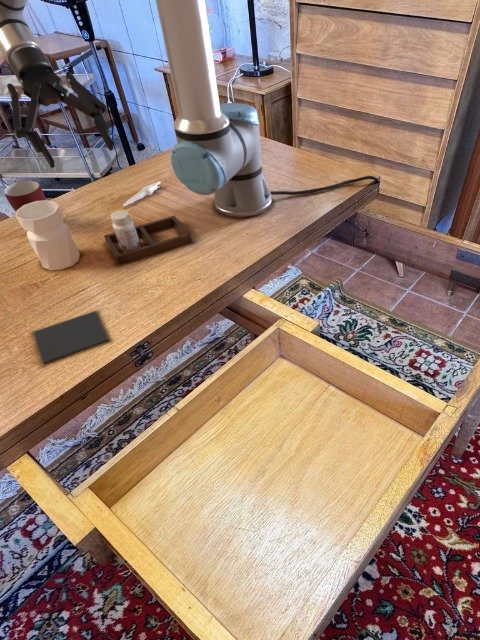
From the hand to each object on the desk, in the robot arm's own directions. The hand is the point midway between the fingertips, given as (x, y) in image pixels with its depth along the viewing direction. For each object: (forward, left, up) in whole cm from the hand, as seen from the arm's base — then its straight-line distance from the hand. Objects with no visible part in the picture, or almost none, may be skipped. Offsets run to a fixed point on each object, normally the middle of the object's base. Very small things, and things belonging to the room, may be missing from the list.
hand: (83, 155), depth 97 cm
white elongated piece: (-13, -13, -18) cm, 26 cm away
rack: (-6, +11, -18) cm, 22 cm away
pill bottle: (-2, +11, -18) cm, 21 cm away
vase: (+14, +7, -18) cm, 23 cm away
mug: (+16, -12, -18) cm, 27 cm away
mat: (+17, +36, -18) cm, 43 cm away
